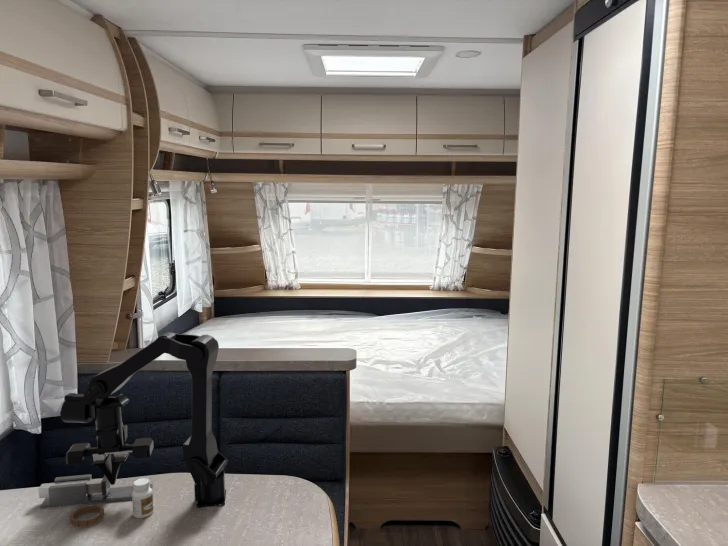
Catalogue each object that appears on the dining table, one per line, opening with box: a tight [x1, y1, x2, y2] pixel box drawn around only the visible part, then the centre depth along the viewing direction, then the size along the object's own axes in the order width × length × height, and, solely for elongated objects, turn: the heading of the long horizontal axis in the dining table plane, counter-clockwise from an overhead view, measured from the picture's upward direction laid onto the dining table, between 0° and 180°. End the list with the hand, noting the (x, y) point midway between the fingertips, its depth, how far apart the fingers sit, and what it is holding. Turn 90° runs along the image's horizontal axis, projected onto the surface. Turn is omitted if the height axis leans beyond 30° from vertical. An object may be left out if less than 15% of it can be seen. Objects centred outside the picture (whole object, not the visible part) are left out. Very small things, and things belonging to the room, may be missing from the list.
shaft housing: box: [40, 473, 154, 509], centre depth 139 cm, size 24×5×5 cm, turn 101°
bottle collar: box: [69, 504, 106, 529], centre depth 130 cm, size 7×7×2 cm
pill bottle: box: [131, 477, 154, 519], centre depth 132 cm, size 4×4×8 cm
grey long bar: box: [38, 475, 111, 499], centre depth 138 cm, size 15×4×4 cm, turn 101°
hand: (113, 483), depth 139 cm, fingers closed
